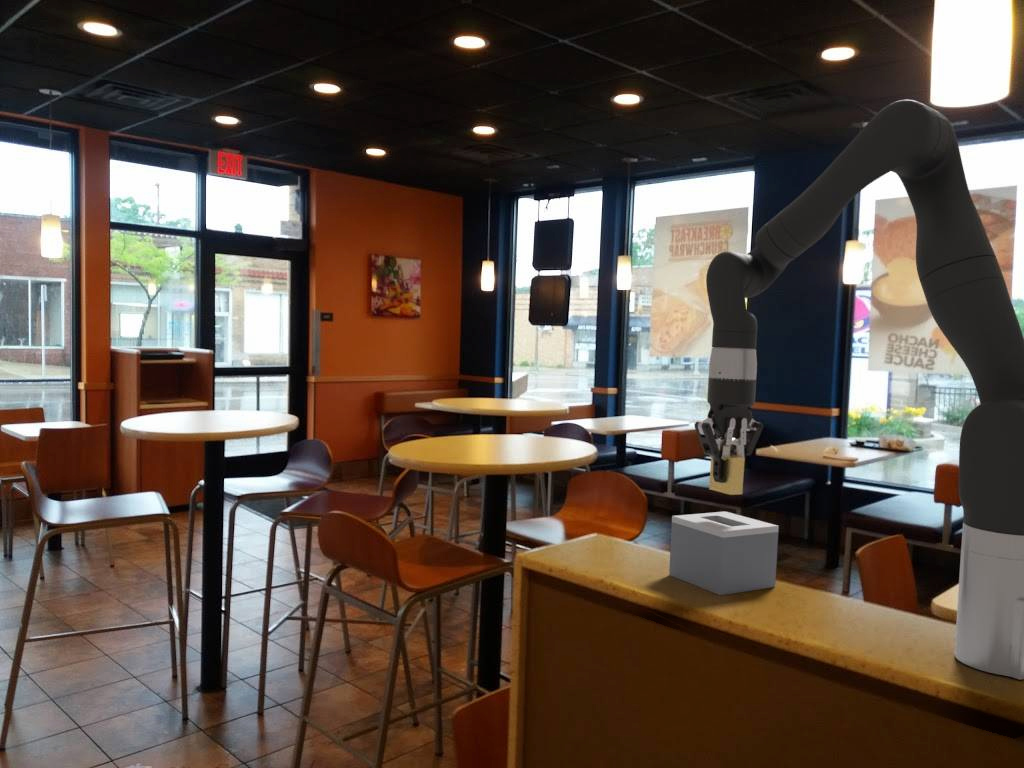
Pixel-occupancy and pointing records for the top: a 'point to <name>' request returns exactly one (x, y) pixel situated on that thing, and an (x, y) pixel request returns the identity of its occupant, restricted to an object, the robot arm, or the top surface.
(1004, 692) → the top surface
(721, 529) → the coin box
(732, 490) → the tan rectangular block
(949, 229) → the robot arm
